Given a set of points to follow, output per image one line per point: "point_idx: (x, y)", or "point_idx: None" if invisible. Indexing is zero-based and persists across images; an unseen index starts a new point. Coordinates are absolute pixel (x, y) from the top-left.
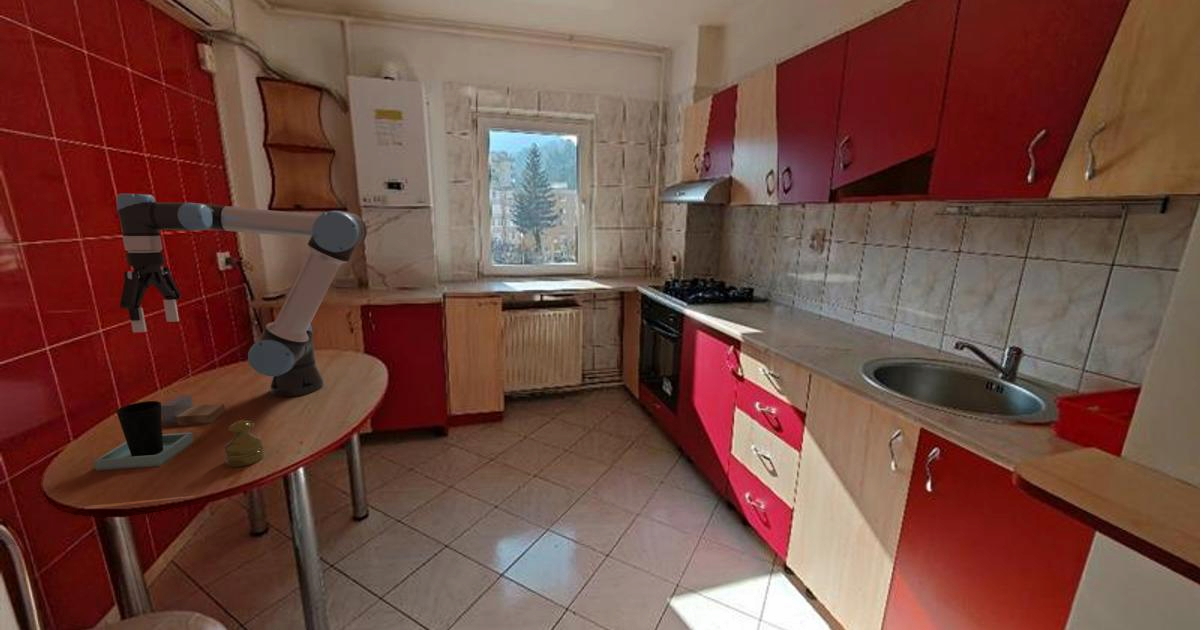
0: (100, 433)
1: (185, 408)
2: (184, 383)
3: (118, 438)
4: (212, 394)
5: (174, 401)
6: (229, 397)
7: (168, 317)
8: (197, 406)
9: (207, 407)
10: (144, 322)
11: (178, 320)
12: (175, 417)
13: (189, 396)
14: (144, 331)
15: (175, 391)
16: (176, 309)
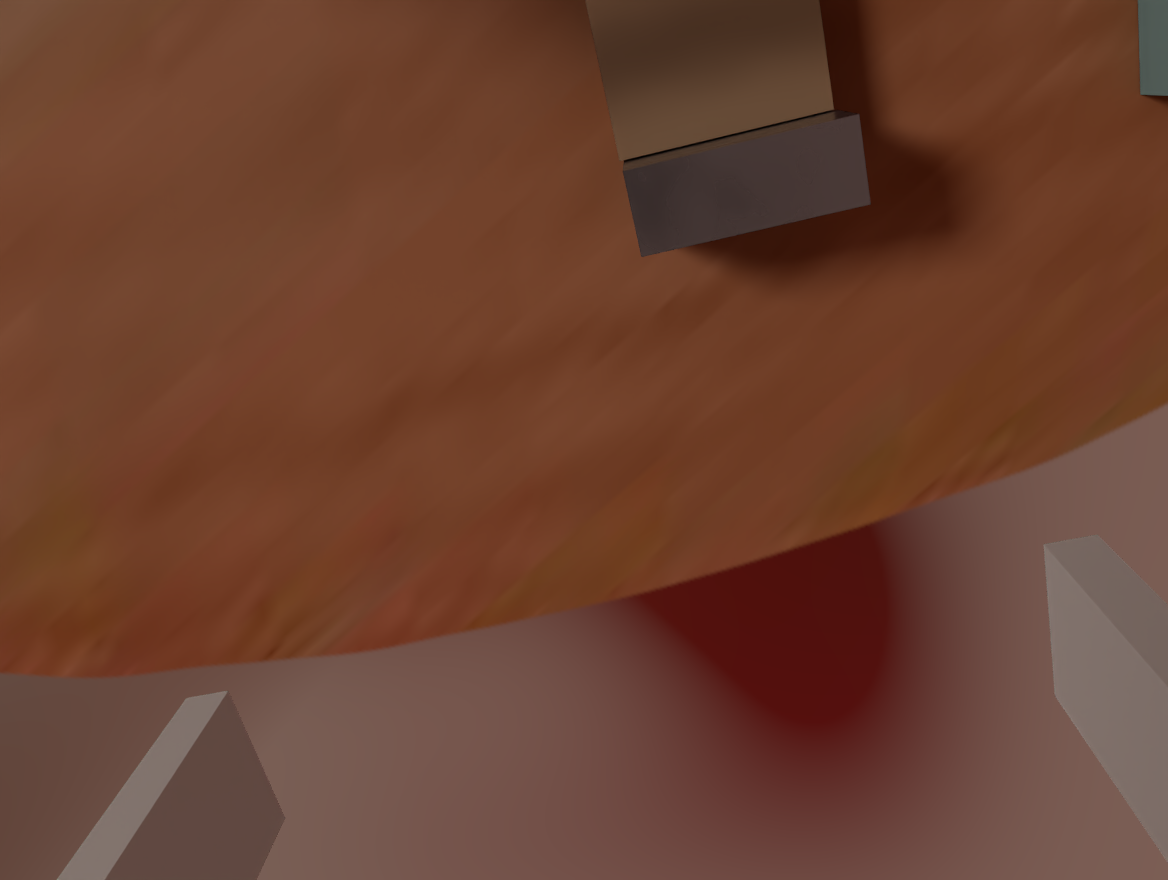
0: (922, 470)
1: (709, 142)
2: (128, 669)
3: (1008, 305)
4: (266, 333)
5: (772, 177)
6: (296, 157)
7: (246, 846)
8: (636, 110)
9: (652, 9)
10: (1155, 638)
11: (194, 702)
12: (833, 110)
13: (641, 166)
14: (1103, 542)
15: (264, 609)
16: (84, 867)
